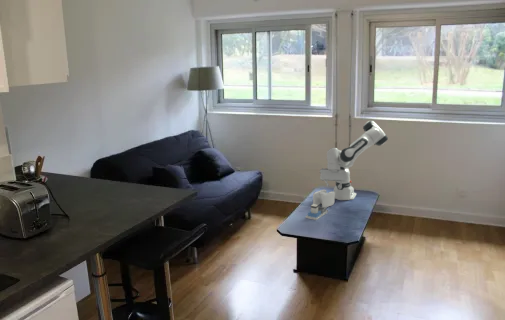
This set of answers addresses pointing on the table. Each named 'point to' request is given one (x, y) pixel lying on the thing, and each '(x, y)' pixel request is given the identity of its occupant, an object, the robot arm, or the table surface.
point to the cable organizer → (324, 198)
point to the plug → (314, 208)
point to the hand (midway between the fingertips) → (334, 186)
